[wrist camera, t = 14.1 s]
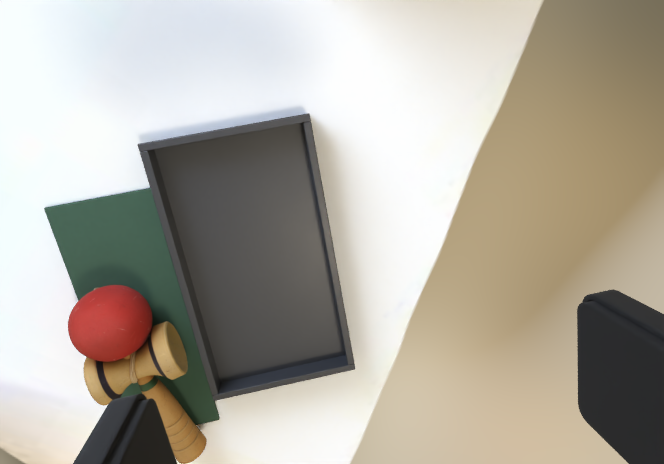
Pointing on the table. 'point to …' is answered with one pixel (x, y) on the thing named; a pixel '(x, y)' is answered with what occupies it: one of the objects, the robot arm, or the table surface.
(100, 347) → the kendama
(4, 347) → the table surface
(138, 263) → the mat
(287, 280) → the dark grey flat tray
